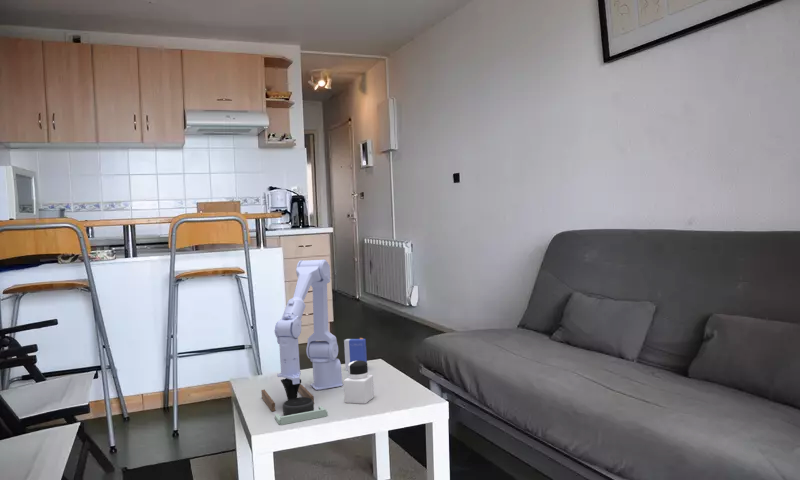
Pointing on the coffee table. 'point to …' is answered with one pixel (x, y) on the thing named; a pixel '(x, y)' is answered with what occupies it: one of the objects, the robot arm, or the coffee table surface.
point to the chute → (271, 403)
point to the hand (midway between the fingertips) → (292, 402)
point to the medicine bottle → (358, 383)
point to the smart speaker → (298, 405)
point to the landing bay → (301, 416)
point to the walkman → (355, 350)
